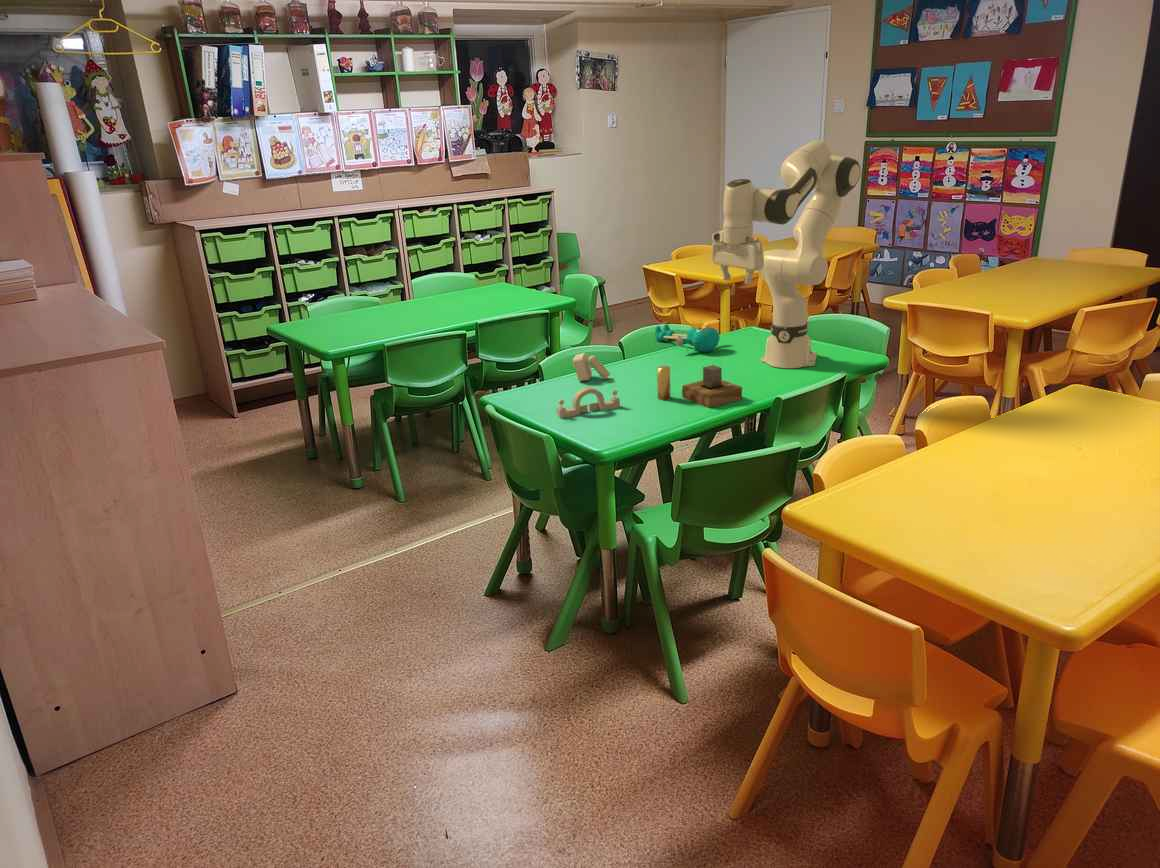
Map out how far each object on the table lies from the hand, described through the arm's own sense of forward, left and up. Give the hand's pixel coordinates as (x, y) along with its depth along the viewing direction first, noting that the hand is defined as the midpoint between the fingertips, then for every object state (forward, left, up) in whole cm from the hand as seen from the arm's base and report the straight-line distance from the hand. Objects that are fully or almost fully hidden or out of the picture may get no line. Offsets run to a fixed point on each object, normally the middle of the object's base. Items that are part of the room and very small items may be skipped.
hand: (736, 281), depth 248 cm
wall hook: (+8, -48, -34) cm, 60 cm away
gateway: (+37, -34, -35) cm, 61 cm away
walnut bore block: (+13, -3, -34) cm, 37 cm away
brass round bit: (+18, -17, -34) cm, 42 cm away
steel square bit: (+13, -3, -34) cm, 37 cm away
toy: (-42, -34, -35) cm, 64 cm away
